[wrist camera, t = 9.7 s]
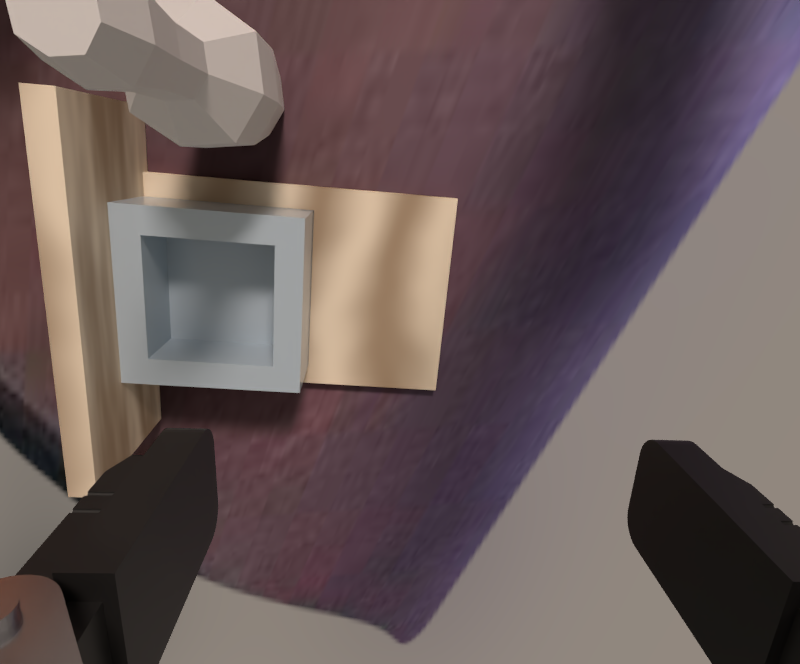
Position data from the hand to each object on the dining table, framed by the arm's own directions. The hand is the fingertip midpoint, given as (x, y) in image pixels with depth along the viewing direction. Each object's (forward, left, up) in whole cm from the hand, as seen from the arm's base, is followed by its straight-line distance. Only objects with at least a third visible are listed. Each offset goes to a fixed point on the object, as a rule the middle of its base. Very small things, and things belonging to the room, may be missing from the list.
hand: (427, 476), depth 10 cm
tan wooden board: (+7, +4, -29) cm, 30 cm away
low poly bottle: (+10, -8, -29) cm, 32 cm away
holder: (+11, +4, -28) cm, 30 cm away
